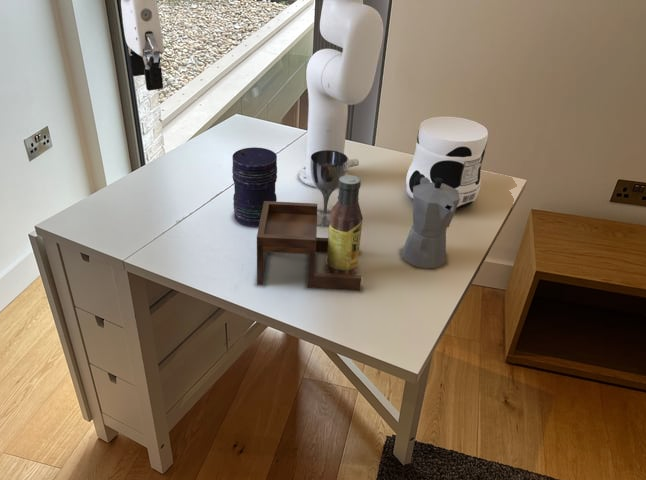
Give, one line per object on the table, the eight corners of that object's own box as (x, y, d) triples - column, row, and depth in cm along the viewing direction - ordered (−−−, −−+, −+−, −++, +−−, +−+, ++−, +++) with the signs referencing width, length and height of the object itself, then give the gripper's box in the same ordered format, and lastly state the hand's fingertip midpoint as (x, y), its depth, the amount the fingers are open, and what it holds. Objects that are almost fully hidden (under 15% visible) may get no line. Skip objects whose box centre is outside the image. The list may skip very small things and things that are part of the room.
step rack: (357, 251, 124) (362, 205, 118) (359, 290, 113) (365, 242, 107) (263, 246, 126) (263, 200, 119) (257, 285, 115) (256, 237, 108)
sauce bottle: (355, 280, 116) (365, 189, 104) (324, 276, 117) (330, 186, 105) (358, 262, 121) (368, 174, 109) (328, 258, 122) (335, 170, 110)
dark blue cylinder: (283, 211, 138) (284, 152, 129) (265, 231, 131) (265, 169, 122) (245, 203, 141) (244, 144, 132) (226, 221, 134) (223, 160, 125)
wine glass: (345, 213, 138) (351, 153, 129) (337, 229, 132) (342, 168, 123) (312, 207, 140) (316, 148, 131) (303, 223, 134) (306, 162, 125)
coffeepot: (458, 271, 119) (478, 192, 108) (415, 277, 117) (431, 197, 106) (426, 233, 131) (440, 157, 120) (386, 237, 129) (397, 161, 118)
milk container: (409, 178, 152) (421, 110, 142) (478, 189, 148) (495, 120, 137) (397, 209, 139) (409, 136, 129) (472, 222, 135) (491, 148, 124)
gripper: (171, -7, 101) (180, 92, 111) (141, -23, 113) (151, 67, 124) (129, -4, 98) (142, 98, 109) (102, -20, 111) (116, 72, 121)
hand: (147, 81), depth 116 cm, fingers open, 9 cm apart
